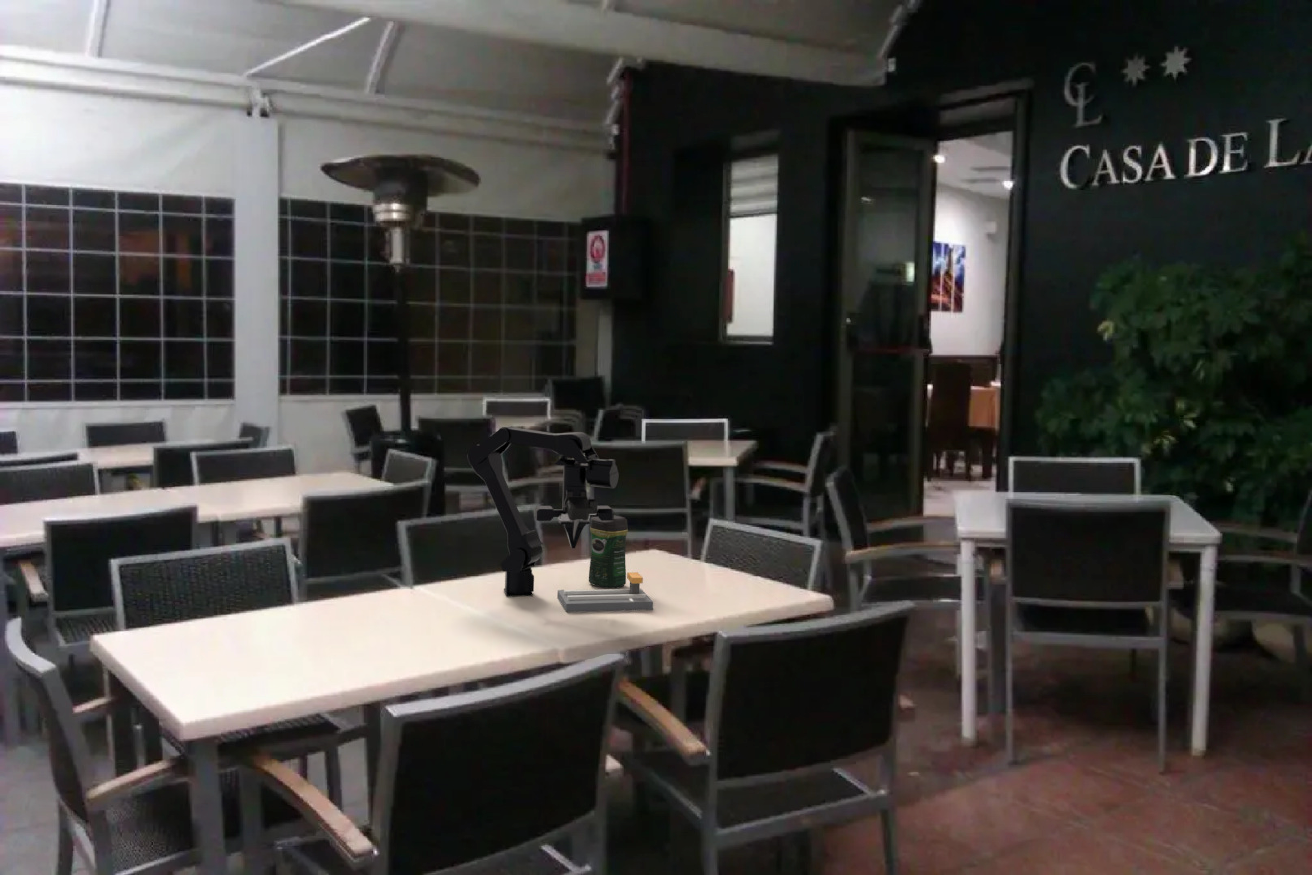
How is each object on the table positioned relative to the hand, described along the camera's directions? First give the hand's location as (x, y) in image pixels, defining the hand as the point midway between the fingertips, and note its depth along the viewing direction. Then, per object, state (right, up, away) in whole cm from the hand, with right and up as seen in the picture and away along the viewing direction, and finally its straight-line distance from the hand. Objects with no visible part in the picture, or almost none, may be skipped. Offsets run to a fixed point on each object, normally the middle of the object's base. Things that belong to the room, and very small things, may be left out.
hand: (572, 548), depth 273 cm
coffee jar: (+7, -12, +19) cm, 23 cm away
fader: (+15, -11, +1) cm, 19 cm away
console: (+8, -13, -1) cm, 16 cm away
